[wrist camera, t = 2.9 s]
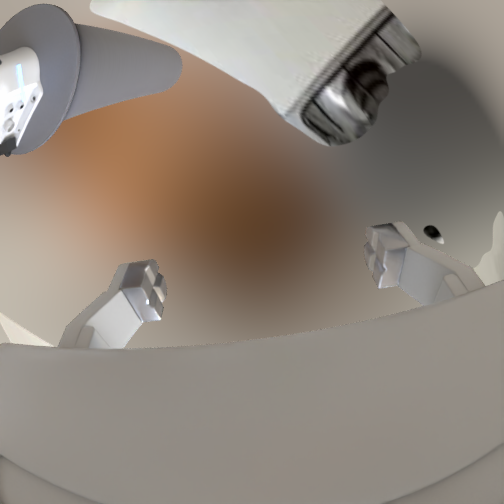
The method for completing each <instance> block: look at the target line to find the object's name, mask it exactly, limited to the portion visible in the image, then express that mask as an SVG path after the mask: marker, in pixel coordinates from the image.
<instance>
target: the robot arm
mask: <svg viewBox="0 0 504 504" xmlns="http://www.w3.org/2000/svg"><path fill="white" fill-rule="evenodd" d="M42 95H43V88H42V85H41V82H40V67H39V61H38V57H37V55H36V53H35V52H34V51H33V50H32V49H31V48H29V47H20V48H18V49H16V50H14V51H11V52H9V53H6V54H3V55H0V155H3V154H4V155H5V156H7V157H9V156H10V155H11V152H12V150H14V149H16V148H17V146H18V144H19V142H20V140H21V137H22V135H23V133H24V131H25V129H26V127H27V124H28V122H29V120H30V118H31V116H32V114H33V112H34V110H35V108H36V107H37V105H38V103H39V101H40V99H41V97H42ZM365 236H366V238H367V240H368V242H367V243H366V244H365V245H364V258H365V262H366V265H367V267H368V269H370V270H371V271H373V276H372V277H373V279H374V281H375V283H376V285H377V287H378V288H385V287H391V286H396V285H398V287H400V288H401V289H402V290H404V291H405V292H406V293H408V294H409V295H410V296H412V297H413V298H414V299H415V300H417V301H418V302H419V303H420V304H422V305H423V306H422V307H418V308H415V309H411V310H407V311H403V312H400V313H396V314H391V315H387V316H383V317H379V318H375V319H370V320H366V321H361V322H356V323H351V324H346V325H342V326H337V327H331V328H326V329H320V330H315V331H309V332H303V333H297V334H290V335H284V336H277V337H270V338H262V339H255V340H246V341H237V342H227V343H219V344H206V345H194V346H181V347H162V348H132V349H131V348H129V349H128V348H124V349H123V347H124V346H125V345H126V343H127V342H128V341H129V339H130V338H131V337H132V336H133V334H134V333H135V332H136V330H137V329H138V328H139V327H140V325H141V324H142V322H148V321H158V320H161V317H162V312H163V308H164V307H163V305H162V302H163V301H164V300H165V299H166V295H167V287H166V282H165V279H164V277H163V276H162V275H161V274H160V273H158V269H159V266H158V264H157V262H156V261H155V260H153V259H151V260H145V261H137V262H131V263H124V264H121V265H119V266H118V269H117V271H116V273H115V275H114V277H113V280H112V282H111V284H110V286H109V289H108V290H107V291H106V292H103V293H102V294H101V295H100V296H99V297H98V298H96V299H95V300H94V301H93V302H92V303H91V304H90V305H89V306H88V307H87V308H85V310H83V311H82V312H81V313H80V314H79V315H78V316H77V317H76V318H75V319H73V320H72V321H71V322H70V323H69V324H68V325H67V326H66V328H65V331H64V333H63V335H62V338H61V340H60V342H59V345H58V347H47V346H34V345H23V344H13V343H2V344H0V504H504V280H502V281H499V282H496V283H494V284H491V285H488V286H485V285H484V283H483V282H482V281H481V279H480V278H479V277H478V275H477V274H476V272H475V271H474V270H473V269H472V268H471V267H470V266H468V265H466V264H464V263H462V262H460V261H458V260H456V259H454V258H452V257H451V256H449V255H447V254H445V253H442V252H441V251H438V250H437V249H434V248H432V247H430V246H428V245H426V244H421V243H420V242H419V240H418V239H417V238H416V237H415V235H414V234H413V233H412V232H411V230H410V229H409V228H408V227H407V226H406V224H405V223H404V222H402V221H399V222H393V223H388V224H382V225H376V226H369V227H367V229H366V234H365Z"/></svg>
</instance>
